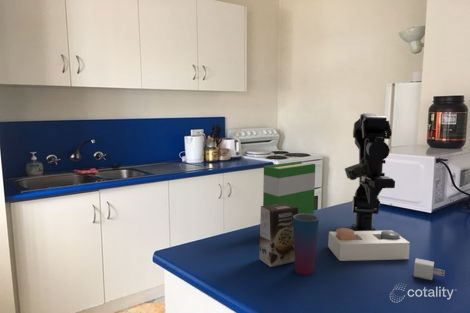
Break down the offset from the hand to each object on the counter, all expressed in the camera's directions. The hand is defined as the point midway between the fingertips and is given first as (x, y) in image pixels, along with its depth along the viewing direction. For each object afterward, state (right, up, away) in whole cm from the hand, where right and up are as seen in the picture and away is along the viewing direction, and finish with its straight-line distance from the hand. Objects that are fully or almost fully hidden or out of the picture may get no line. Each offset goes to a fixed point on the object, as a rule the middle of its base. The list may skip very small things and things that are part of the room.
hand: (370, 204), depth 120 cm
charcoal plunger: (+3, -14, -6) cm, 15 cm away
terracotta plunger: (-10, -13, -7) cm, 18 cm away
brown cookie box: (-31, -15, -12) cm, 37 cm away
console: (-3, -14, -6) cm, 16 cm away
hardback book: (-25, -12, +12) cm, 30 cm away
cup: (-25, -16, -18) cm, 35 cm away
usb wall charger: (+7, -17, -22) cm, 29 cm away
